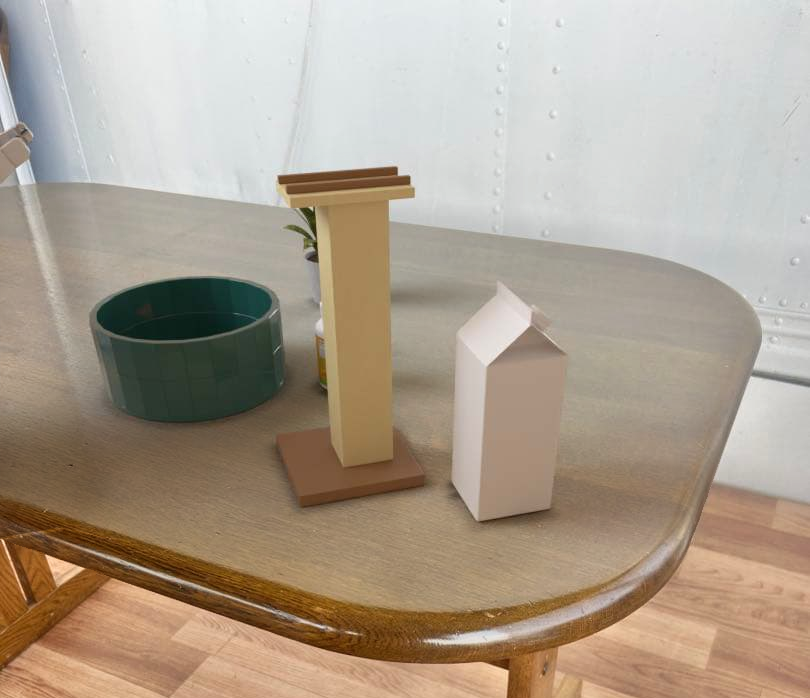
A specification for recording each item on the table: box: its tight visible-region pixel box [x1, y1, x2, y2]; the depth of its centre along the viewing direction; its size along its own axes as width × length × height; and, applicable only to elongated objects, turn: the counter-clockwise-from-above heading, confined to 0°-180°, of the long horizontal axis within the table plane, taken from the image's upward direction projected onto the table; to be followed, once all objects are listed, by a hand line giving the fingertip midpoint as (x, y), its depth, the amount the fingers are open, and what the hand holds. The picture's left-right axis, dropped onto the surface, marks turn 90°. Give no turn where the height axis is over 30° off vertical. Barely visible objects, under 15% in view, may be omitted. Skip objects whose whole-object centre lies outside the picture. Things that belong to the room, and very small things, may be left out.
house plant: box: [283, 207, 321, 306], centre depth 111 cm, size 14×14×16 cm
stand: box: [275, 165, 425, 508], centre depth 72 cm, size 12×12×27 cm
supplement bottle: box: [314, 301, 328, 391], centre depth 92 cm, size 5×5×10 cm
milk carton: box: [451, 281, 569, 522], centre depth 70 cm, size 7×7×19 cm
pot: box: [88, 275, 287, 423], centre depth 93 cm, size 21×21×9 cm
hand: (26, 136), depth 74 cm, fingers open, 8 cm apart
